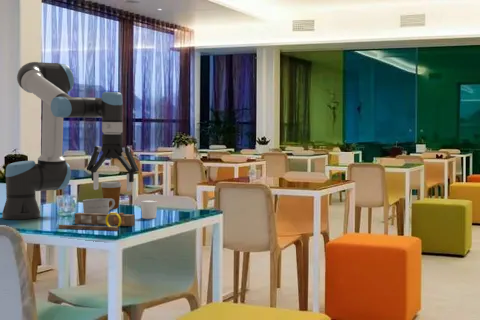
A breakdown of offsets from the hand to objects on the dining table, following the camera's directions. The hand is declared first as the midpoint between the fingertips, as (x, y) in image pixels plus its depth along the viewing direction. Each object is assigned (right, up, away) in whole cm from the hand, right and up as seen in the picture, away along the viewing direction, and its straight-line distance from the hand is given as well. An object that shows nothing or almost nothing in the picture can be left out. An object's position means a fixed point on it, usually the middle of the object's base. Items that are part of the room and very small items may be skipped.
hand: (112, 190), depth 267 cm
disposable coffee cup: (-11, -11, +61) cm, 63 cm away
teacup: (-10, -13, +28) cm, 33 cm away
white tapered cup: (+10, -13, +28) cm, 32 cm away
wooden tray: (-6, -14, +3) cm, 16 cm away
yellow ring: (0, -14, 0) cm, 14 cm away
